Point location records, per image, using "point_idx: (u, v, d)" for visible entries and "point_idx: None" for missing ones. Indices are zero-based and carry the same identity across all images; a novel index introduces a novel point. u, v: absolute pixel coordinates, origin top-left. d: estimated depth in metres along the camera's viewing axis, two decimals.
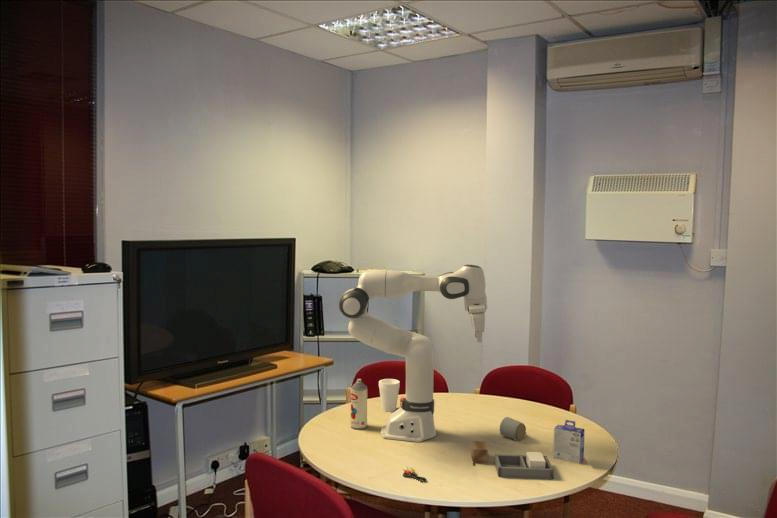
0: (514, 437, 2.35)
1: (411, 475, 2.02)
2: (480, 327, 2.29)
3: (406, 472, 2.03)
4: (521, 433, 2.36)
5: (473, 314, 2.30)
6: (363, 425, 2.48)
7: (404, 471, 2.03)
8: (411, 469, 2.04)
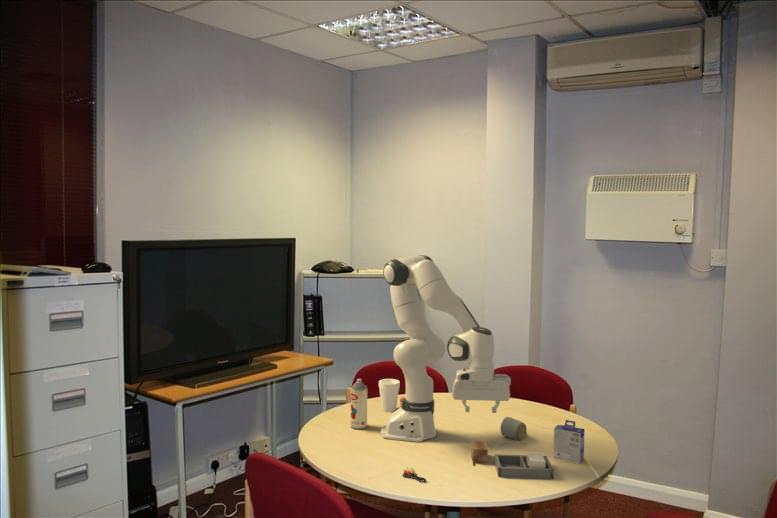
0: (515, 437, 2.36)
1: (411, 475, 2.01)
2: (452, 392, 2.15)
3: (406, 472, 2.03)
4: (521, 432, 2.37)
5: (456, 378, 2.16)
6: (363, 425, 2.48)
7: (404, 471, 2.03)
8: (411, 469, 2.04)
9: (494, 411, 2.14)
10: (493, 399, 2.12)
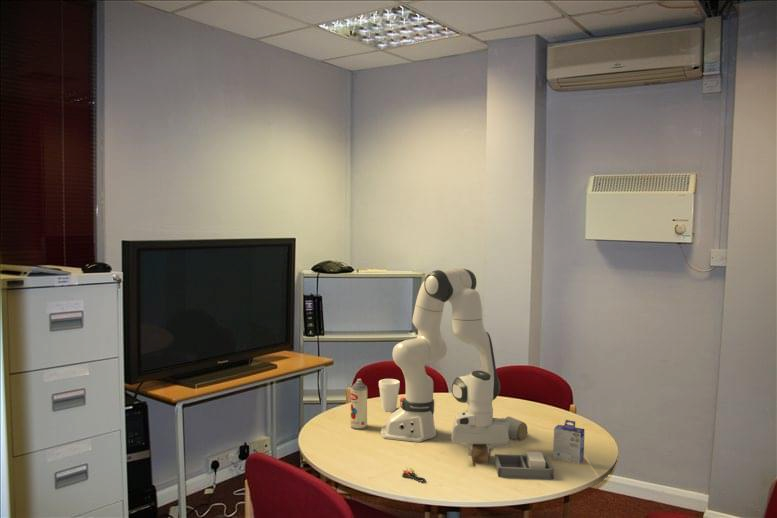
0: (516, 436, 2.36)
1: (410, 475, 2.01)
2: (451, 436, 2.16)
3: (405, 472, 2.02)
4: (522, 432, 2.37)
5: (455, 421, 2.17)
6: (363, 425, 2.48)
7: (403, 471, 2.03)
8: (410, 469, 2.03)
9: (488, 455, 2.15)
10: (491, 443, 2.13)
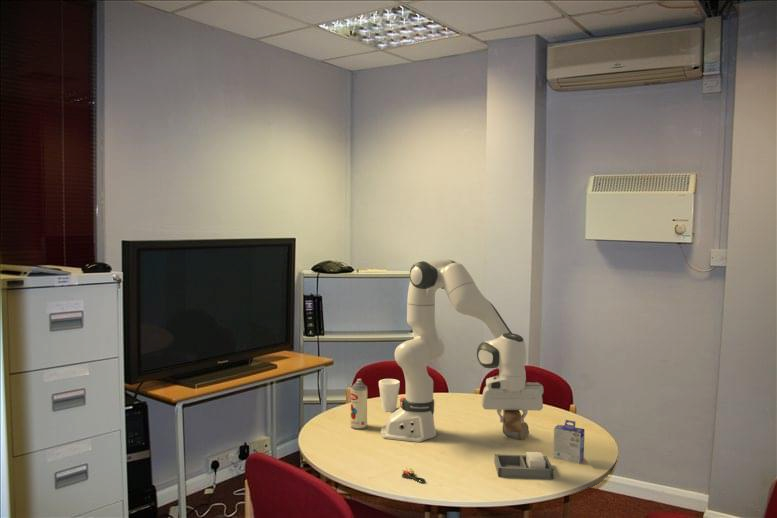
0: (517, 436, 2.37)
1: (410, 476, 2.01)
2: (482, 402, 2.05)
3: (405, 473, 2.02)
4: (523, 432, 2.38)
5: (486, 386, 2.07)
6: (363, 425, 2.48)
7: (403, 472, 2.03)
8: (410, 470, 2.03)
9: (521, 421, 2.04)
10: (525, 408, 2.03)
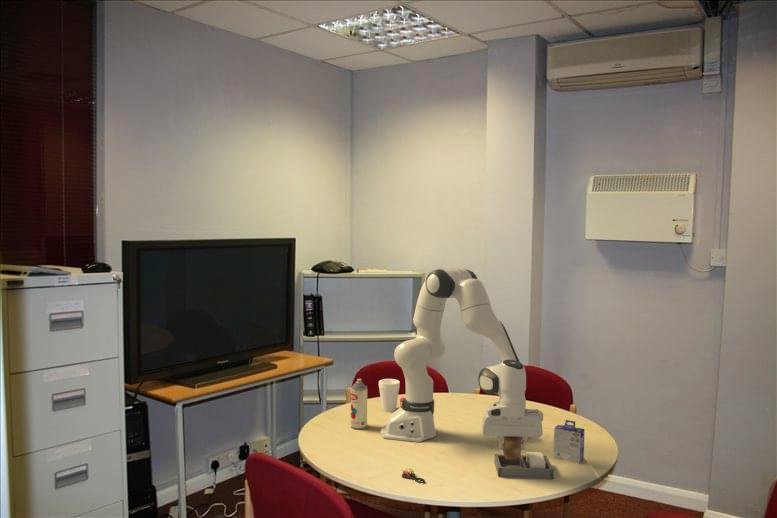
0: None
1: (410, 476, 2.01)
2: (482, 428, 2.06)
3: (405, 473, 2.02)
4: None
5: (486, 413, 2.07)
6: (363, 425, 2.48)
7: (403, 472, 2.03)
8: (410, 470, 2.03)
9: (521, 448, 2.05)
10: (524, 435, 2.03)
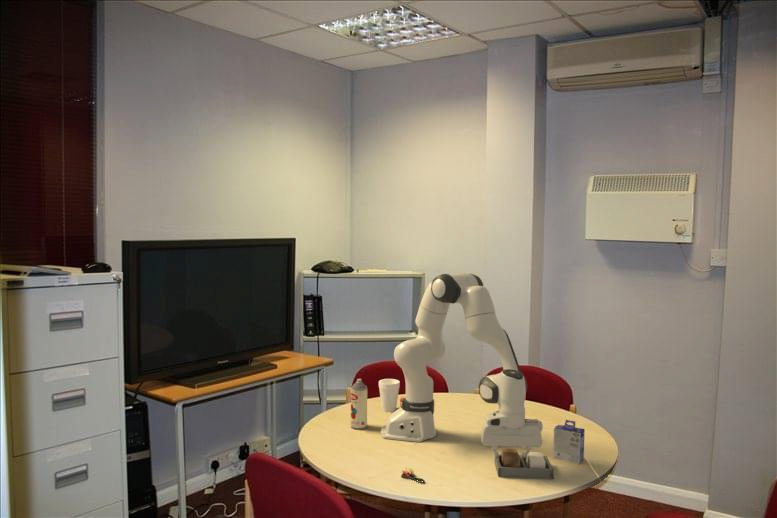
0: None
1: (409, 476, 2.01)
2: (481, 438, 2.06)
3: (404, 473, 2.02)
4: None
5: (485, 422, 2.08)
6: (363, 425, 2.48)
7: (402, 472, 2.03)
8: (410, 470, 2.03)
9: (525, 458, 2.05)
10: (524, 445, 2.04)
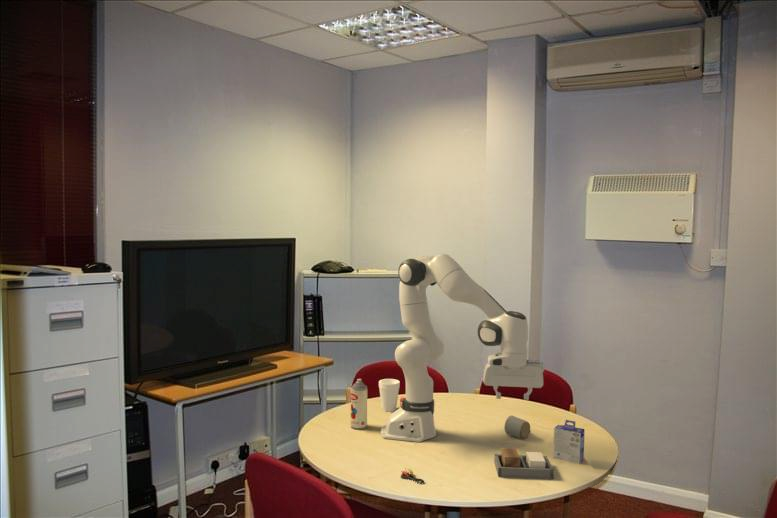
0: (519, 435, 2.37)
1: (409, 476, 2.01)
2: (483, 378, 2.08)
3: (404, 473, 2.02)
4: (525, 431, 2.38)
5: (487, 363, 2.10)
6: (363, 425, 2.48)
7: (402, 472, 2.02)
8: (409, 470, 2.03)
9: (526, 398, 2.07)
10: (525, 385, 2.06)
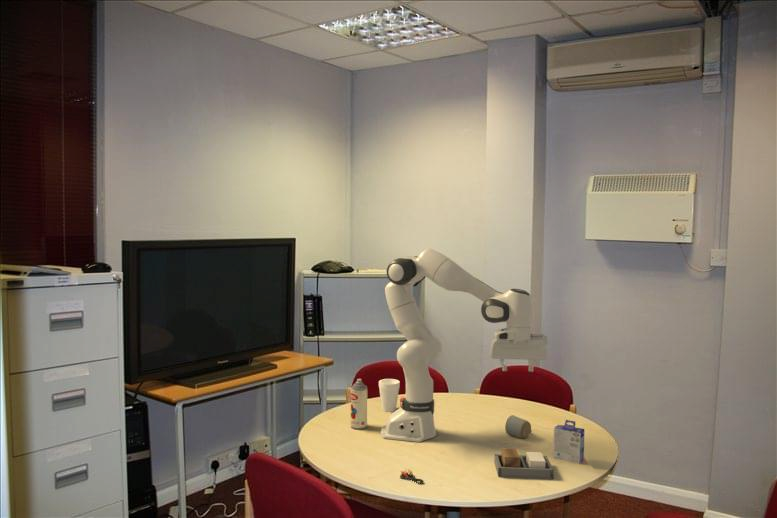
0: (519, 435, 2.38)
1: (408, 477, 2.00)
2: (490, 352, 2.21)
3: (403, 474, 2.01)
4: (526, 431, 2.39)
5: (494, 338, 2.23)
6: (363, 425, 2.48)
7: (401, 473, 2.02)
8: (408, 471, 2.02)
9: (531, 370, 2.20)
10: (530, 358, 2.19)
